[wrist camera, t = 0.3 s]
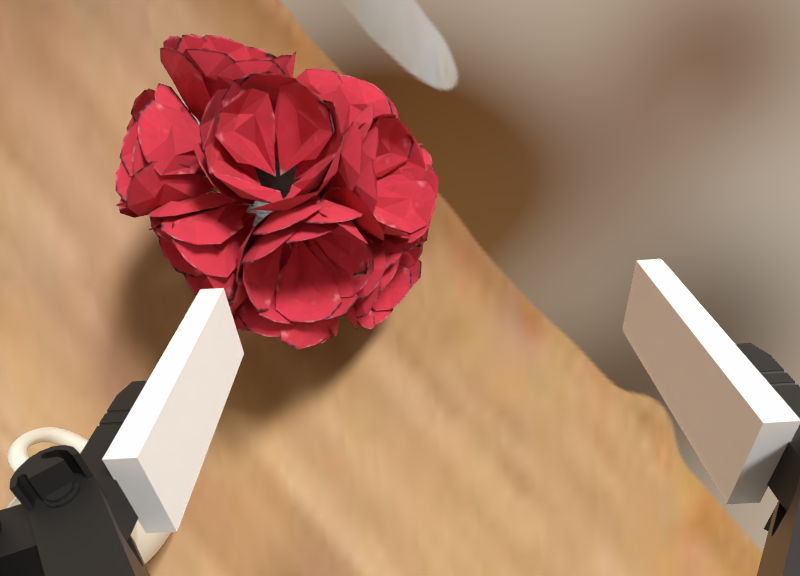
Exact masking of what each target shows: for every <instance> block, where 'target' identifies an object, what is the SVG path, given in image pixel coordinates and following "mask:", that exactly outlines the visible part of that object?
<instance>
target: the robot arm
mask: <svg viewBox="0 0 800 576" xmlns="http://www.w3.org/2000/svg"><path fill="white" fill-rule="evenodd" d="M622 331H623V332H624V334H625V336H626V337H627V339H628V341H629V342H630V344H631V345H632V347H633V349H634V351H635V352H636V354H637V356H638V357H639V359H640V361H641V362H642V364H643V366H644V367H645V369H646V371H647V372H648V374H649V376H650V377H651V379H652V380H653V382H654V384H655V385H656V387H657V389H658V390H659V392H660V394H661V396H662V397H663V399H664V400H665V402H666V404H667V405H668V407H669V409H670V411H671V412H672V414H673V415H674V417H675V419H676V421H677V422H678V424H679V425H680V427H681V429H682V431H683V432H684V434H685V436H686V437H687V439H688V441H689V442H690V444H691V445H692V447H693V449H694V451H695V452H696V454H697V455H698V457H699V459H700V460H701V462H702V464H703V466H704V467H705V469H706V471H707V472H708V474H709V476H710V477H711V479H712V480H713V482H714V484H715V486H716V487H717V489H718V490H719V492H720V494H721V496H722V497H723V499H724V501H725V502H726V504H738V503H759V502H760V501H761V499H762V497H763V495H764V493H765V491H766V489H767V487H768V486H769V487H770V489H771V490H772V492H773V493H774V495H775V496H776V497H777V499H778V500H779V502H778V503H777V505H776V507H775V509H774V511H773V513H772V515H771V517H770V518H769V520H768V522H767V524H766V526H765V528H764V529H765V530H767V531H769V532H768V535H767V539H766V543H765V547H764V551H763V554H762V558H761V562H760V566H759V570H758V573H757V576H800V387H799V385H795V381H794V380H793V379H792V378H791V377H790V376H789V375H788V374H787V373H784V369H783V368H782V367H781V366H780V365H779V364H778V363H777V362H776V361H775V360H774V359H773V358H772V356H771V355H769V354H768V353H766V352H764V351H763V350H761V349H759V348H758V347H756V346H755V345H753V344H751V343H744V344H735V343H734V342H733V341H732V340H731V339H730V338H729V337H728V335H727V334H726V333H725V332H724V331H723V330H722V328H721V327H720V326H719V325H718V324H717V323H716V322H715V320H714V319H713V318H712V317H711V316H710V315H709V313H708V312H707V311H706V310H705V309H704V308H703V307H702V305H701V304H700V303H699V302H698V301H697V300H696V298H695V297H694V296H693V295H692V294H691V293H690V292H689V290H688V289H687V288H686V287H685V286H684V285H683V284H682V282H681V281H680V280H679V279H678V278H677V277H676V275H675V274H674V273H673V272H672V271H671V270H670V268H668V266H667V265H666V264H665V263H664V262H663V260H662V259H654V260H638V261H636V265H635V270H634V275H633V280H632V285H631V290H630V295H629V299H628V304H627V309H626V314H625V319H624V324H623V329H622ZM243 355H244V352H243V348H242V345H241V342H240V339H239V336H238V332H237V329H236V326H235V323H234V320H233V316H232V313H231V310H230V307H229V303H228V300H227V297H226V294H225V291H224V288H216V289H201V290H200V291H199V293H198V294H197V296H196V298H195V300H194V301H193V303H192V305H191V306H190V308H189V310H188V312H187V313H186V315H185V317H184V319H183V320H182V322H181V324H180V325H179V327H178V329H177V331H176V332H175V334H174V336H173V338H172V339H171V341H170V343H169V345H168V346H167V348H166V350H165V351H164V353H163V355H162V357H161V358H160V360H159V362H158V364H157V365H156V367H155V369H154V371H153V372H152V374H151V376H150V377H149V379H148V381H135V382H131V383H130V384H129V385H128V386H127V387H126V388H125V389H124V390H122V391H121V392H120V393H119V394H118V395H117V396H116V397H115V399H114V401H113V402H112V404H111V405H110V407H109V409H108V410H107V414H105V415H104V417H103V418H102V420H101V421H100V425H99V426H97V428H96V429H95V431H94V433H93V434H92V436H91V437H90V439H89V441H88V442H87V444H86V445H85V447H84V448H83V450H82V452H81V453H79V452H78V451H77V450H76V449H75V448H74V447H72V446H67V445H60V446H53V447H50V448H48V449H45V450H42V451H40V452H38V453H37V454H35V455H33V456H32V457H30V458H29V459H27V460H26V461H25V462H24V463H23V464H22V465H21V466H20V467H19V468H18V469H17V470H16V471H15V473H14V475H13V476H12V478H11V480H10V490H11V491H12V492H13V494H14V495H15V496H16V497H17V499H18V500H19V501H20V503H21V504H19V505H15V506H12V507H9V508H6V509H3V510H0V576H150V575H149V573H148V570H147V568H146V566H145V564H144V561H143V559H142V557H141V555H140V552H139V550H138V548H137V545H136V543H135V541H134V540H133V538H132V536H131V533H132V531H133V529H134V527H135V525H136V522H137V520H138V521H139V522H140V524H141V526H142V527H143V529H144V531H145V532H146V533H164V532H177V530H178V528H179V525H180V523H181V520H182V517H183V515H184V512H185V509H186V507H187V504H188V501H189V499H190V496H191V493H192V491H193V488H194V485H195V483H196V480H197V477H198V475H199V472H200V469H201V467H202V464H203V461H204V459H205V456H206V453H207V451H208V448H209V445H210V443H211V440H212V437H213V435H214V432H215V429H216V427H217V424H218V422H219V419H220V416H221V414H222V411H223V408H224V406H225V403H226V400H227V398H228V395H229V392H230V390H231V387H232V384H233V382H234V379H235V376H236V374H237V371H238V368H239V366H240V363H241V360H242V358H243Z"/></svg>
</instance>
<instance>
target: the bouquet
mask: <svg viewBox="0 0 800 576" xmlns="http://www.w3.org/2000/svg"><path fill="white" fill-rule="evenodd" d="M163 44H164V48H160V57H161V62H162V64H163V65H164V67H165V69H166V70H167V72H168V74H169V75H170V77H171V79H172V80H173V82H174V84H175V86H176V88H177V89H178V91H179V93H180V95H181V97H182V99H183V100H184V101H181V99H180V98H179V97H178V96H177V94H176V93H175V92H174V91H173V89H172V88H171V87H169V86H166V85H163V84H160V83H159V84H158V86H157V88H156V90H155V91H154V90H152V89H148V90H144V91H143V92H142V93H141V94H140V95H139V96H138V97H137V98H136V99H135V101H134V105H133V108H132V111H131V115H132V118H131V120H130V122H129V124H128V126H127V132H128V133H127V134H126V136H125V137H124V140H123V145H122V150H121V154H120V159H121V163H120V165H119V168H118V170H117V172H116V192H117V193H118V194H119V195H120V196H121V200H120V202H119V204H117V206H119V210H120V213H122V214H125V215H128V216H131V217H134V218H135V217H139V216H144V215H148V214H149V216H150V220H151V227H152V228H151V229H149V230H152V229H153V230H154V232H155V233H156V234H157V236H158V237H159V243H160V246H161V248H162V251H163V254H164V256H165V258H166V259H167V260H168V262H169V263H170V264H171V265H172V266H173V268H174V269H175V270H176V271H177V272H180V273H183V274H184V276H185V278H186V280H187V282H188V284H189V286H190V289H191V290H192V291H193V292H194V294H195V295H197V294H198V293H199V291H200V290H201V289H216V288H224V291H225V294H226V297H227V300H228V303H229V307H230V310H231V313H232V316H233V320H234V323H235V326H236V328H238V329H240V330H245V331H251V332H254V333H257V334H260V335H263V336H266V337H281V340H282V342H283V343H285V344H288V345H290V346H292V347H294V348H296V349H302V348H306V347H309V346H313V345H316V344H320V343H324V342H325V341H327V340H328V339H329V338H331V337H332V336H333V335H334V336H335V337H336V335H337V333H338V324H339V316H340V315H344V314H345V315H346V316H347V318H348V319H349V320H350V322H351V323H352V324H353V325H354V327H355V328H356V329H357V325H358V324H361V325H362V326H363V327H365V328H368V329H372V328H374V327H375V325H377V324H379V323H380V322H382V321H384V320H385V319H386V318H387V317H388V315H389V314H390V313H391V312H392V311H393V308H394V307H395V306H396V305H397V304H399V303H400V302H401V301H402V300H403V299H404V297H405V296H406V294H407V293H408V291H409V290H410V289H411V288H412V286H413V285H414V284H415V283H416V282H417V281H418V279H419V278H420V277H421V261H420V260H418V259H419V257H420V255H421V254H422V249H423V242H425V241H427V236H428V229H429V226H430V220H431V217H432V214H433V212H434V209H435V200H436V197H437V189H438V181H439V179H438V177H437V176H436V174H435V172H434V171H433V169H432V167H433V166H432V159H431V156H430V155H429V153H428V152H427V151H426V150H425V149H423V148H420V146H421V145H422V144H418V143H417V141H416V140H415V138H414V136H413V135H412V134H410V132H409V129H407V127H406V126H404V124H403V123H401V121H400V120H399V115H398V112H397V110H396V108H395V106H394V104H393V103H392V102H391V101H390V100H389V97H388V96H387V95H386V94H384V93H383V92H382V91H381V90H380V89H379V88H377V87H376V86H375V85H373V84H371V83H369V82H366V81H364V80H362V79H359V78H355V77H351V76H347V75H339V74H338V72H335V71H332V70H328V69H324V68H316V69H306V70H305V71H304V72H303V73H301V74H300V75H299V76H298V77H297V78H296V79H295V78H293V71H294V63H295V55H296V52H295V53H294V54H293V55H281V56H279V57H275V56H274V55H272V54H270V53H268V52H266V51H265V50H263V49H259V48H253V47H248V46H244V45H243V44H241V43H238V42H236V41H234V40H231V39H229V38H227V37H221V36H212V35H205V36H204V37H201V36H197V35H194V34H190V35H182V37H181V38H180V37H178V36H176V37H174V36H170V37H169V38H168V39H167V40H166V41H165V42H164V43H163ZM203 176H207V177H208V179H209V180H208V179H206V178H204V177H203ZM214 187H215V188H216V189H217V190H219V191H220V192H221V193H222V194H220V193H213V192H212V193H208V194H205V193H207V192H210V191H212V190H214V189H211V188H214ZM203 194H205V195H203ZM318 196H320V197H321V198H319V197H318ZM231 202H232V203H231ZM288 243H289V245H288ZM357 322H358V323H357Z"/></svg>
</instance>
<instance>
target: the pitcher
mask: <svg viewBox="0 0 800 576" xmlns="http://www.w3.org/2000/svg"><path fill="white" fill-rule="evenodd" d="M40 442H50V443H55V444H59V445H67V446H72V447H74V448H75V449H76V450H77V451H78V452H79V453H81V452H82V450H83V448H84V447H85V445H86V444H87V442H88V440H87V439H85V438H84V437H82V436H80V435H78V434H76V433H73V432H71V431H68V430H65V429H61V428H55V427H44V428H39V429H34V430H31V431H29V432H26V433H25V434H23V435H21V436H20V437H19V438H17V439H16V440H15V441H14V442H13V444H12V445H11V446H10V448H9V450H8V455H7V459H8V464H9V466H10V468H11V469H12V471H13V472H14V473H15V471H16V470H17V469H18V468H19V467H20V466H21V465H22V464H23V463H24V462H25V461H26V460H27V459H29V456H28V454H27V450H28V448H29V446H31V445H33V444H36V443H40ZM19 504H21V503H20V501H19V500H18V499H17V497H15V498H14V499H13V500H12V501H11V502H10V503H9V505H8V506H7V508H9V507H12V506H15V505H19ZM170 534H171V532H164V533H146V532H145V531H144V529H143V527H142V526H141V524H140V522H139V521H138V520H137V522H136V525H135V527H134V529H133V531H132V533H131V536H132V538H133V540H134V541H135V543H136V545H137V548H138V550H139V552H140V555H141V557H142V559H143V561H144V564H146V563H147V562H148V561H149V560H150V559H151V558H152V557H153V556H154V555H155V554H156V553H157V552H158V550H159V549H160V548H161V547H162V546H163V544H164V543H165V541H166V540H167V538H168V537H169V535H170Z"/></svg>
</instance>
